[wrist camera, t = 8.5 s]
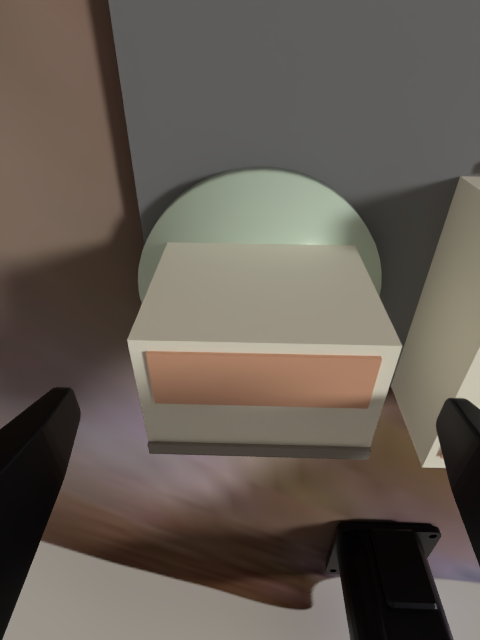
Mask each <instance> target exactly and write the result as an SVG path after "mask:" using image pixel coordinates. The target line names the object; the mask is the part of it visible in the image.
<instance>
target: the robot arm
mask: <svg viewBox="0 0 480 640" xmlns="http://www.w3.org/2000/svg"><path fill="white" fill-rule="evenodd" d="M80 416H81V413H80V408H79V405H78V402H77V399H76V396H75V393H74V391H73V390H72V389H71V388H66V387H56V388H53V389H51V390H50V391H49V392H47V393H46V394H45V395H43V396H42V397H41V398H40V399H38V400H37V401H36V402H35V403H33V404H32V405H31V406H29V407H28V408H27V409H26V410H24V411H23V412H22V413H20V414H19V415H18V416H17V417H15V418H14V419H13V420H12V421H10V422H9V423H8V424H6V425H5V426H4V427H3V428H1V429H0V640H2V639H3V636H4V634H5V631H6V628H7V626H8V623H9V621H10V618H11V616H12V613H13V610H14V608H15V605H16V602H17V600H18V597H19V595H20V592H21V589H22V587H23V584H24V582H25V579H26V577H27V574H28V571H29V569H30V566H31V564H32V561H33V559H34V556H35V553H36V551H37V548H38V546H39V543H40V540H41V538H42V535H43V533H44V530H45V527H46V525H47V522H48V520H49V517H50V515H51V512H52V509H53V507H54V504H55V502H56V499H57V496H58V494H59V491H60V489H61V486H62V483H63V480H64V477H65V474H66V471H67V467H68V463H69V459H70V456H71V452H72V448H73V444H74V440H75V437H76V433H77V429H78V425H79V422H80ZM436 431H437V435H438V439H439V443H440V447H441V451H442V455H443V459H444V463H445V467H446V471H447V475H448V479H449V482H450V486H451V490H452V493H453V495H454V498H455V501H456V504H457V507H458V509H459V512H460V515H461V517H462V520H463V523H464V525H465V528H466V531H467V534H468V536H469V539H470V542H471V544H472V547H473V550H474V552H475V555H476V558H477V560H478V563H479V566H480V409H479V408H478V407H477V406H475V405H474V404H473V403H471V402H470V401H469V400H467V399H465V398H448V399H447V400H446V401H445V402H444V404H443V407H442V409H441V411H440V413H439V415H438V417H437V420H436ZM440 537H441V533H440V530H439V528H438V527H436V526H414V525H385V524H355V523H343V524H340V525H338V526H337V529H336V532H335V535H334V538H333V541H332V545H331V548H330V551H329V554H328V558H327V561H326V564H325V565H326V572H327V573H330V574H340V577H341V583H342V590H343V596H344V602H345V608H346V615H347V621H348V628H349V634H350V640H453V636H452V634H451V630H450V627H449V624H448V622H447V618H446V616H445V612H444V609H443V606H442V603H441V600H440V597H439V594H438V591H437V588H436V585H435V582H434V579H433V575H432V572H431V569H430V566H429V563H428V560H427V558H428V556H429V555H430V553H431V551H432V550H433V548H434V547H435V545H436V544H437V542H438V541H439V539H440Z"/></svg>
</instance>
